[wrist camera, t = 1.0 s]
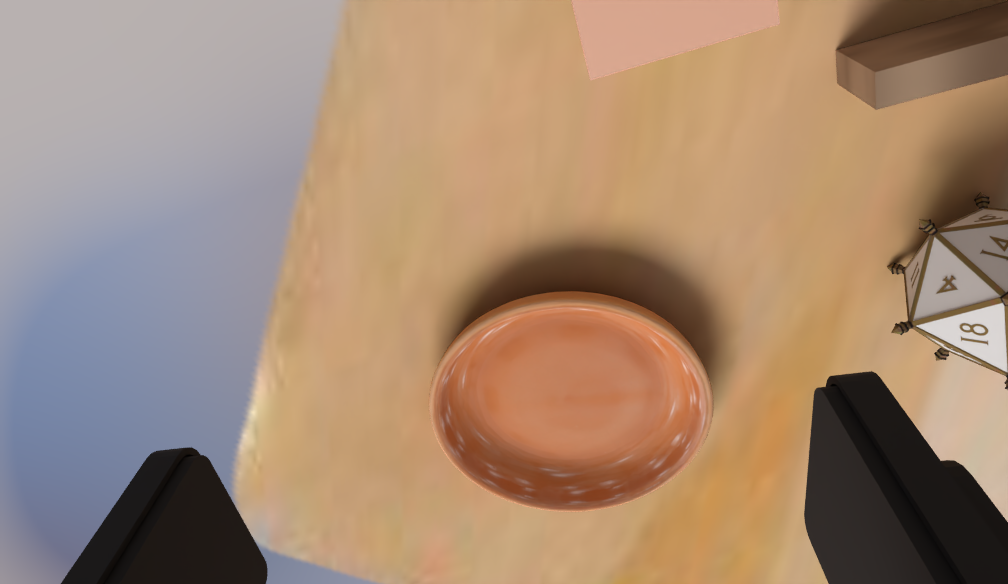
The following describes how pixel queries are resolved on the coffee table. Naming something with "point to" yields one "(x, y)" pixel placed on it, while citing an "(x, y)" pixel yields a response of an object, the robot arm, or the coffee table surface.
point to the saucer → (570, 401)
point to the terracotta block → (661, 28)
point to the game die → (962, 287)
